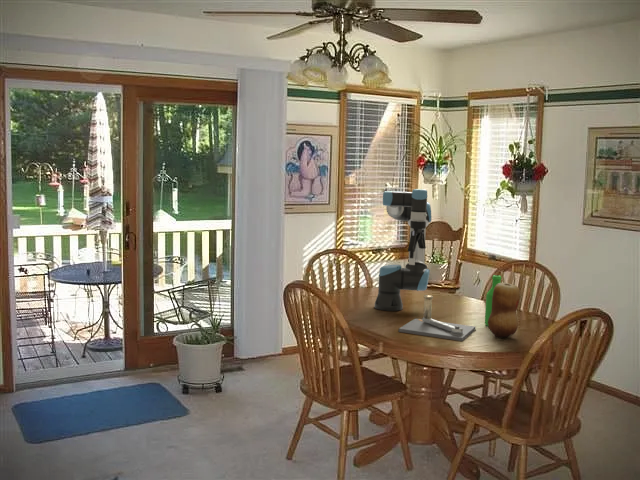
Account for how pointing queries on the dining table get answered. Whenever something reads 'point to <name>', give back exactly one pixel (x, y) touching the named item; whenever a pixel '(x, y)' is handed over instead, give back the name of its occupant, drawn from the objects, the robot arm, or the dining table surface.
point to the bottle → (489, 297)
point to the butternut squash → (504, 310)
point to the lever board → (435, 330)
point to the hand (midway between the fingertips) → (416, 263)
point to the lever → (434, 322)
